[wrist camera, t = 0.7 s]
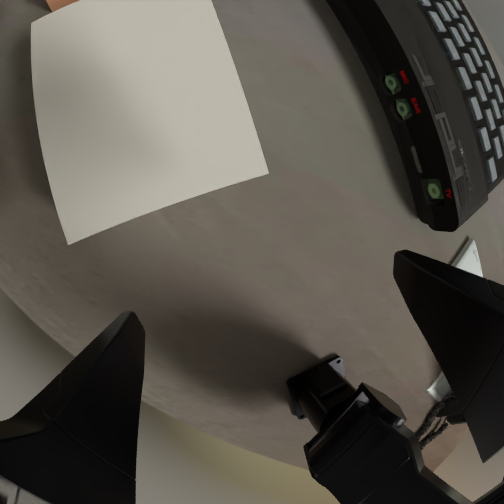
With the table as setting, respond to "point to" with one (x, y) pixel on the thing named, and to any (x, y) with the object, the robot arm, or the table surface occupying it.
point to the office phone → (443, 409)
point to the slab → (137, 109)
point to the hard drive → (469, 259)
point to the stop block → (59, 4)
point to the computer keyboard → (434, 99)
